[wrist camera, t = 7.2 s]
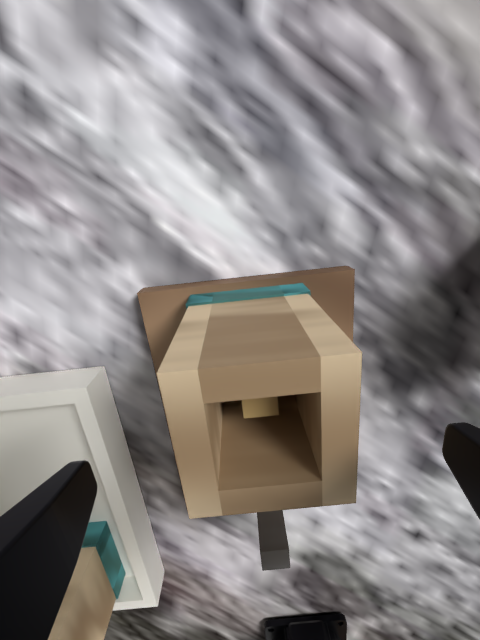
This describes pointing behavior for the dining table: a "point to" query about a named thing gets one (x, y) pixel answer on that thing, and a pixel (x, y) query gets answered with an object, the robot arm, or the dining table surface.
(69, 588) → the sleeve
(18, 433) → the feeder tray
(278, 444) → the oak sleeve
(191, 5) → the dining table surface
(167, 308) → the pin board
